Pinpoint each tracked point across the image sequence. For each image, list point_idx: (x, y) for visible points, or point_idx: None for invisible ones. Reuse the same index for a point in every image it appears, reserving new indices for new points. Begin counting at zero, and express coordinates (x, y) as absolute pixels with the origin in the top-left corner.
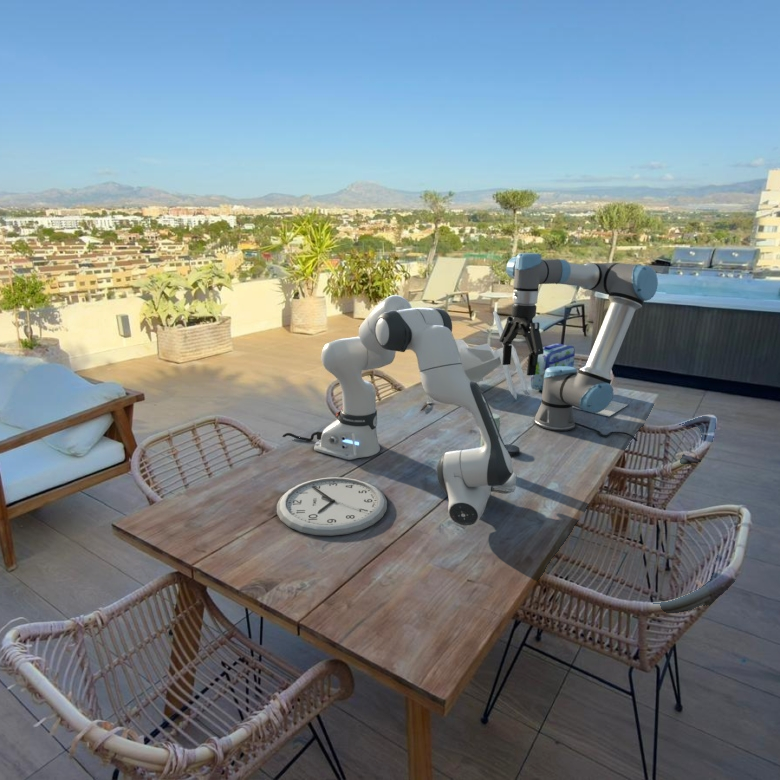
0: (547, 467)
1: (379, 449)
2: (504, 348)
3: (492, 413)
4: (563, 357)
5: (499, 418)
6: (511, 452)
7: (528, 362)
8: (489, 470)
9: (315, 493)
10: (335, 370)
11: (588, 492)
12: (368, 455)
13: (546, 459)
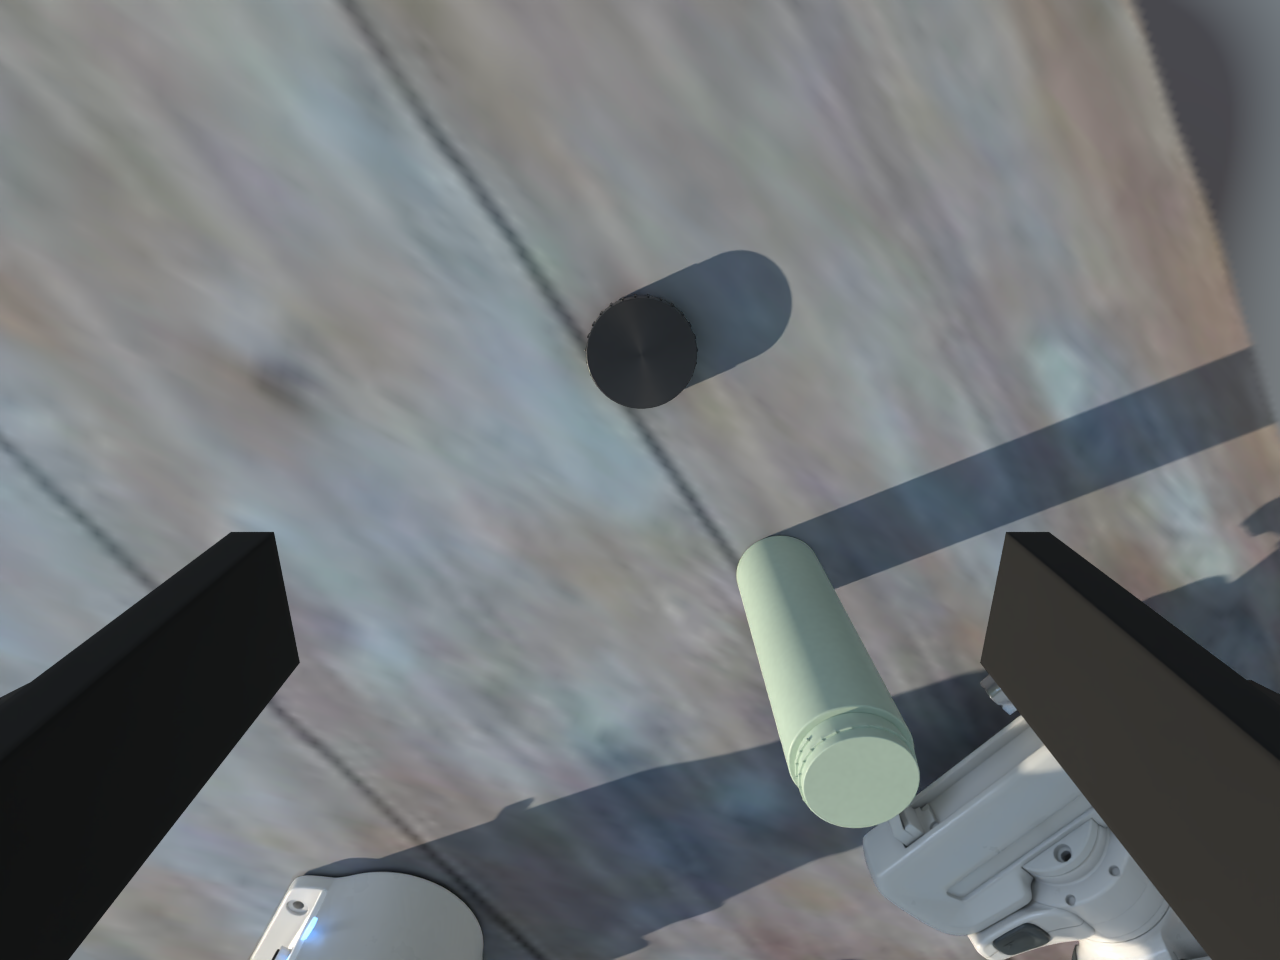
0: (891, 262)
1: (431, 886)
2: (45, 956)
3: (823, 757)
4: None
5: (900, 737)
6: (690, 378)
7: (1141, 845)
8: None
9: None
10: None
11: (1215, 250)
12: (479, 933)
13: (805, 192)
